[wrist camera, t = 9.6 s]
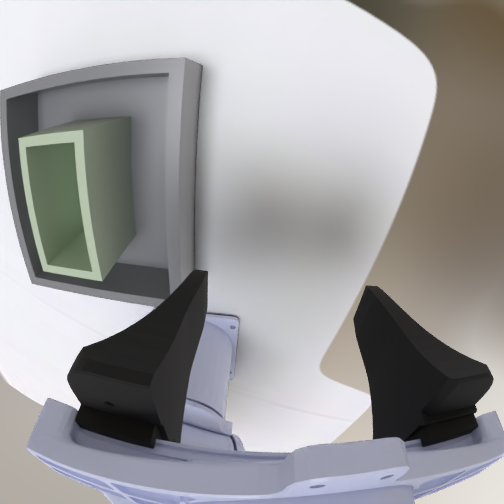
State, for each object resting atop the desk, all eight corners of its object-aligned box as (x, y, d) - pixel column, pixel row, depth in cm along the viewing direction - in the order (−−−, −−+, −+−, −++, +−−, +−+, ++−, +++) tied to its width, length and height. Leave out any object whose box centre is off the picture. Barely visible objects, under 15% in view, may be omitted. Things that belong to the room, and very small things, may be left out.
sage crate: (135, 235, 21) (102, 281, 16) (82, 230, 21) (43, 271, 16) (130, 116, 17) (83, 130, 12) (72, 121, 17) (18, 138, 12)
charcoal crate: (194, 274, 24) (182, 310, 20) (56, 256, 24) (31, 283, 20) (202, 65, 16) (185, 57, 12) (37, 85, 16) (0, 90, 12)
